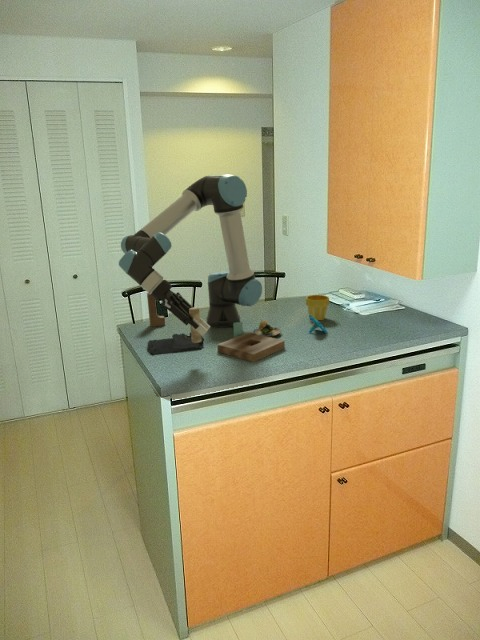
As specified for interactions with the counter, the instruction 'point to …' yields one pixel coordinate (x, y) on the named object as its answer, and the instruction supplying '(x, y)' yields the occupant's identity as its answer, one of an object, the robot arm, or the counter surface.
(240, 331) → the short teal pin
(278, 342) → the walnut hole board
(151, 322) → the wooden block
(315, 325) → the gear
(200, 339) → the long maple pin
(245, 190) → the robot arm
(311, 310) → the plant pot
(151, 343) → the dark slate chunk
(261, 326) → the burger
